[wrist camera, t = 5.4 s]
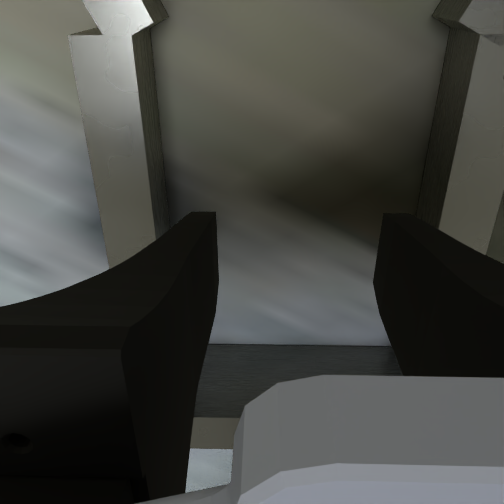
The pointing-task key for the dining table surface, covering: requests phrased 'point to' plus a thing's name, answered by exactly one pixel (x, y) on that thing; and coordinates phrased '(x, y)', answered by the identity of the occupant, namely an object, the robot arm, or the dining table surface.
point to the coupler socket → (155, 197)
